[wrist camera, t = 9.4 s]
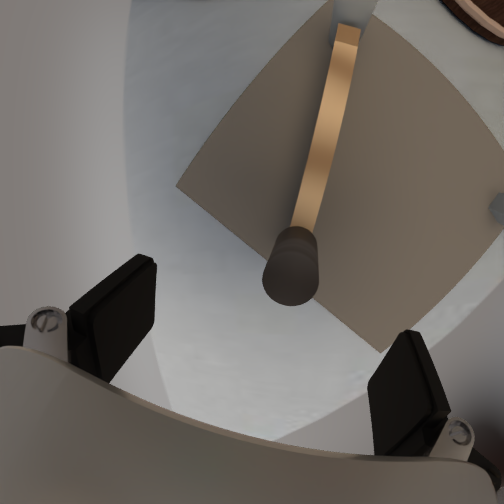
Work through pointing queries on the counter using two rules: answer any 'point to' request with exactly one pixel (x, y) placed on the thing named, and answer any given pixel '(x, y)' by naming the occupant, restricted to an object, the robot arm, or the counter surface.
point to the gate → (312, 185)
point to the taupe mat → (359, 176)
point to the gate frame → (358, 15)
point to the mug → (481, 17)
